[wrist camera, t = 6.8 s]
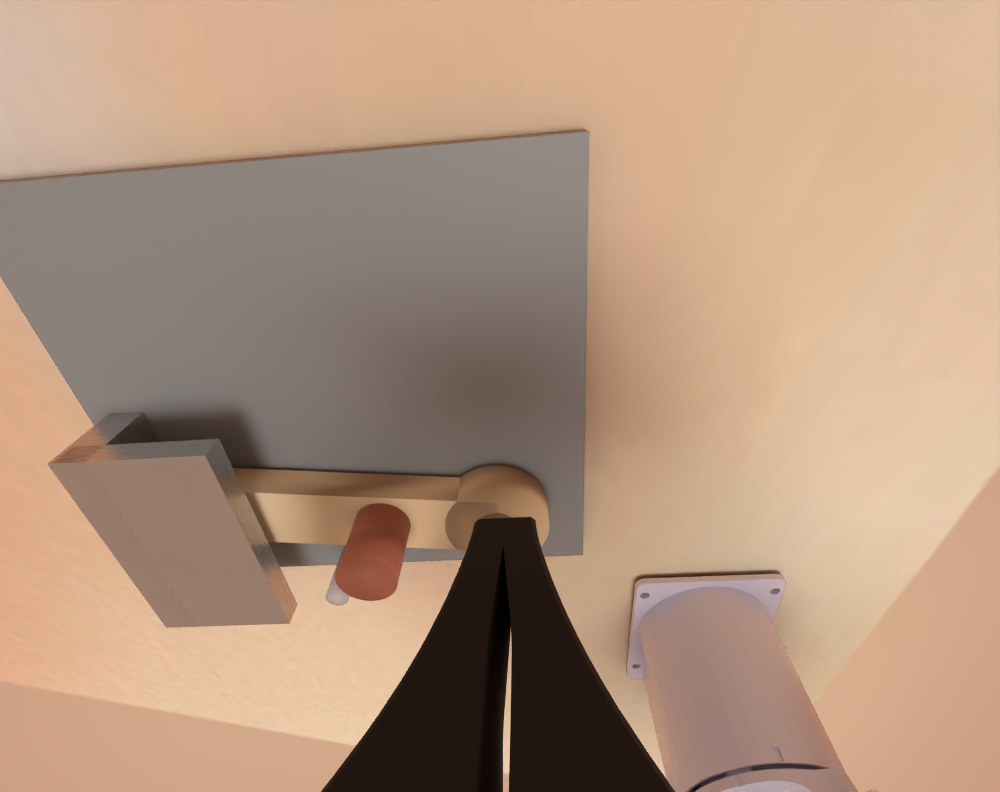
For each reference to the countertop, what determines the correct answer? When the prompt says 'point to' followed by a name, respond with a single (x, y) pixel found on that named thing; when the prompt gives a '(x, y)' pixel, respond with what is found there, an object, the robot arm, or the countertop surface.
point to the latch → (386, 515)
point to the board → (328, 309)
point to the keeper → (176, 524)
